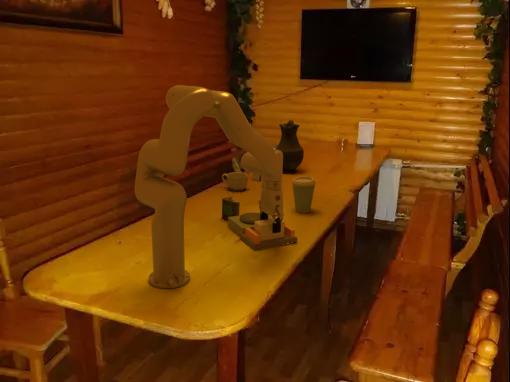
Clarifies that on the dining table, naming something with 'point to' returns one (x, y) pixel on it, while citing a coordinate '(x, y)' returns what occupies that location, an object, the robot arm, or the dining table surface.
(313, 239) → the dining table surface
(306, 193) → the disposable coffee cup
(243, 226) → the tray with orange tabs
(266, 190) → the robot arm
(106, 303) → the dining table surface
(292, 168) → the pitcher
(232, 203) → the flask
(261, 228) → the pale beige box
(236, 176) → the teacup
